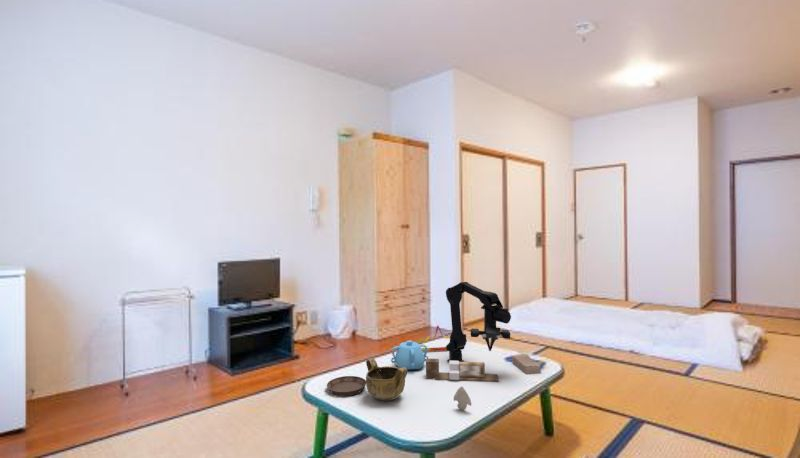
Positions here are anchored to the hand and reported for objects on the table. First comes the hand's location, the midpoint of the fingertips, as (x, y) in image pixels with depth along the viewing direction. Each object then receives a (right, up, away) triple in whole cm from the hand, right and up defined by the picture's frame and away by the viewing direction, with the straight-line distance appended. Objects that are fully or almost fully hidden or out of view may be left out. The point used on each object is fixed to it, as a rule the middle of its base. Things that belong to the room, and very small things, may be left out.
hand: (489, 350), depth 208 cm
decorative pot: (-39, -12, +12) cm, 42 cm away
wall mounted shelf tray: (-10, -11, -5) cm, 15 cm away
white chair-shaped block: (-18, -11, -4) cm, 21 cm away
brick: (+20, -12, +8) cm, 24 cm away
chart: (-24, -12, +37) cm, 46 cm away
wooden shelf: (-14, -12, -4) cm, 19 cm away
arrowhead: (-19, -13, -39) cm, 45 cm away
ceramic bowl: (-50, -13, -26) cm, 58 cm away
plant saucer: (-68, -13, -16) cm, 71 cm away
